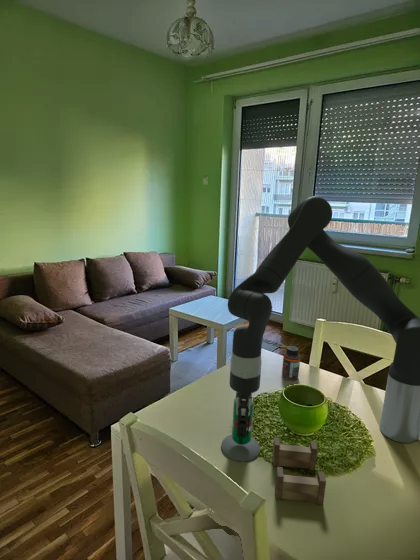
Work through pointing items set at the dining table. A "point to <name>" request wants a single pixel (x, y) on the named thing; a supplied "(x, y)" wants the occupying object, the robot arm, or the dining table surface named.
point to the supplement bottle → (291, 363)
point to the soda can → (249, 427)
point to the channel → (297, 485)
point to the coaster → (240, 449)
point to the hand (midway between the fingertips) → (241, 429)
